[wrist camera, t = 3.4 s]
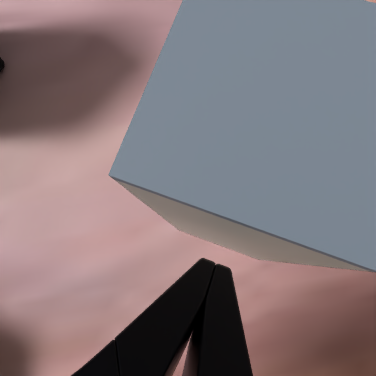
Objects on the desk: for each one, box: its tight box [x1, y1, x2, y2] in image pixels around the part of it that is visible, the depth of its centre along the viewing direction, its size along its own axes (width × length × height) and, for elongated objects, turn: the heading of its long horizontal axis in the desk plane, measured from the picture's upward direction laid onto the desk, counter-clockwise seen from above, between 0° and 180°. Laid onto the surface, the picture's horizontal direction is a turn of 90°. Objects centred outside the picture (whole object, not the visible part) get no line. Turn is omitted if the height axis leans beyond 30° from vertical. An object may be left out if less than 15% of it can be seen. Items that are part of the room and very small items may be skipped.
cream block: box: [109, 0, 376, 272], centre depth 11 cm, size 4×4×12 cm
